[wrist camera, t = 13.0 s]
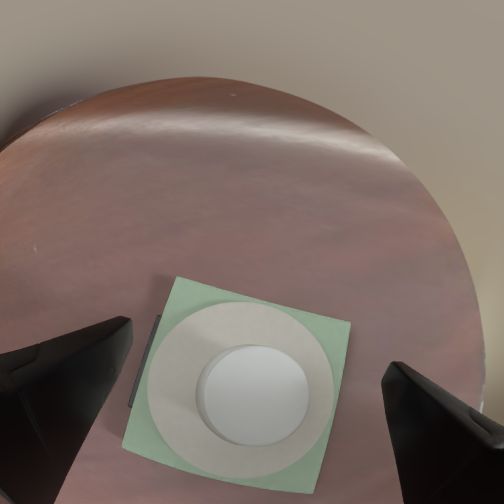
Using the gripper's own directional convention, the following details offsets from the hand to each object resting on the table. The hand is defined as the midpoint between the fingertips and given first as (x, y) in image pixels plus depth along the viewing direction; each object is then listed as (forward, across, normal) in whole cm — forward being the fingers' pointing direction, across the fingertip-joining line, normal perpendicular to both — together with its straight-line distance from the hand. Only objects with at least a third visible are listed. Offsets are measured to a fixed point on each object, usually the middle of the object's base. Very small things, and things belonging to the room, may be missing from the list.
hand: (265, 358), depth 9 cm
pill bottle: (+5, 0, +6) cm, 8 cm away
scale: (+6, 0, +8) cm, 10 cm away
